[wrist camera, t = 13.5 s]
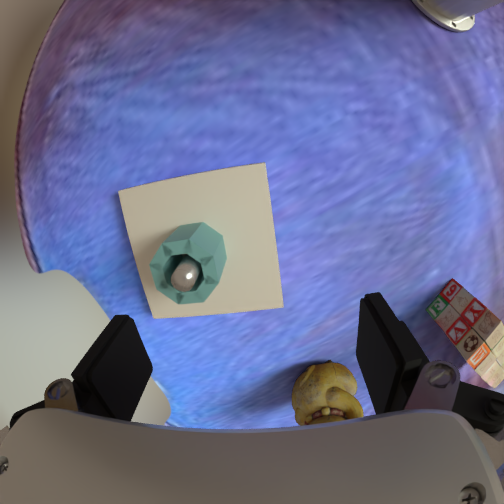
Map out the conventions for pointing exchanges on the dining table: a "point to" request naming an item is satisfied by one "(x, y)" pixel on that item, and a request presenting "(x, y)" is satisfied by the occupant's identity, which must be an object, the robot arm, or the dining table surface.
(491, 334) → the stack of blocks
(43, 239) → the dining table surface
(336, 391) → the decorative figurine
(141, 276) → the board
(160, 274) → the bead
